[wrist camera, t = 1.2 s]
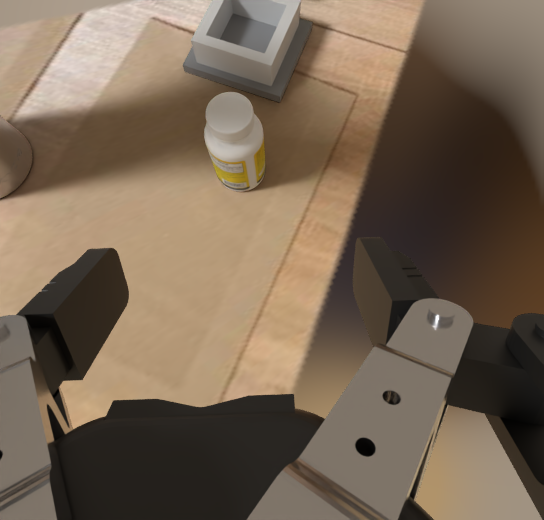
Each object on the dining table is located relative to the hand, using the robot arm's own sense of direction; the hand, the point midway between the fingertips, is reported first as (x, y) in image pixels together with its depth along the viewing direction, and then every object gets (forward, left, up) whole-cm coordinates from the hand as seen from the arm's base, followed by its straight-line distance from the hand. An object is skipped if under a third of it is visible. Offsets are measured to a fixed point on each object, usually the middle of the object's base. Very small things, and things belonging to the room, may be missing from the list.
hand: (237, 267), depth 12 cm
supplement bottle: (-8, +14, -23) cm, 28 cm away
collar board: (-13, +29, -23) cm, 39 cm away
